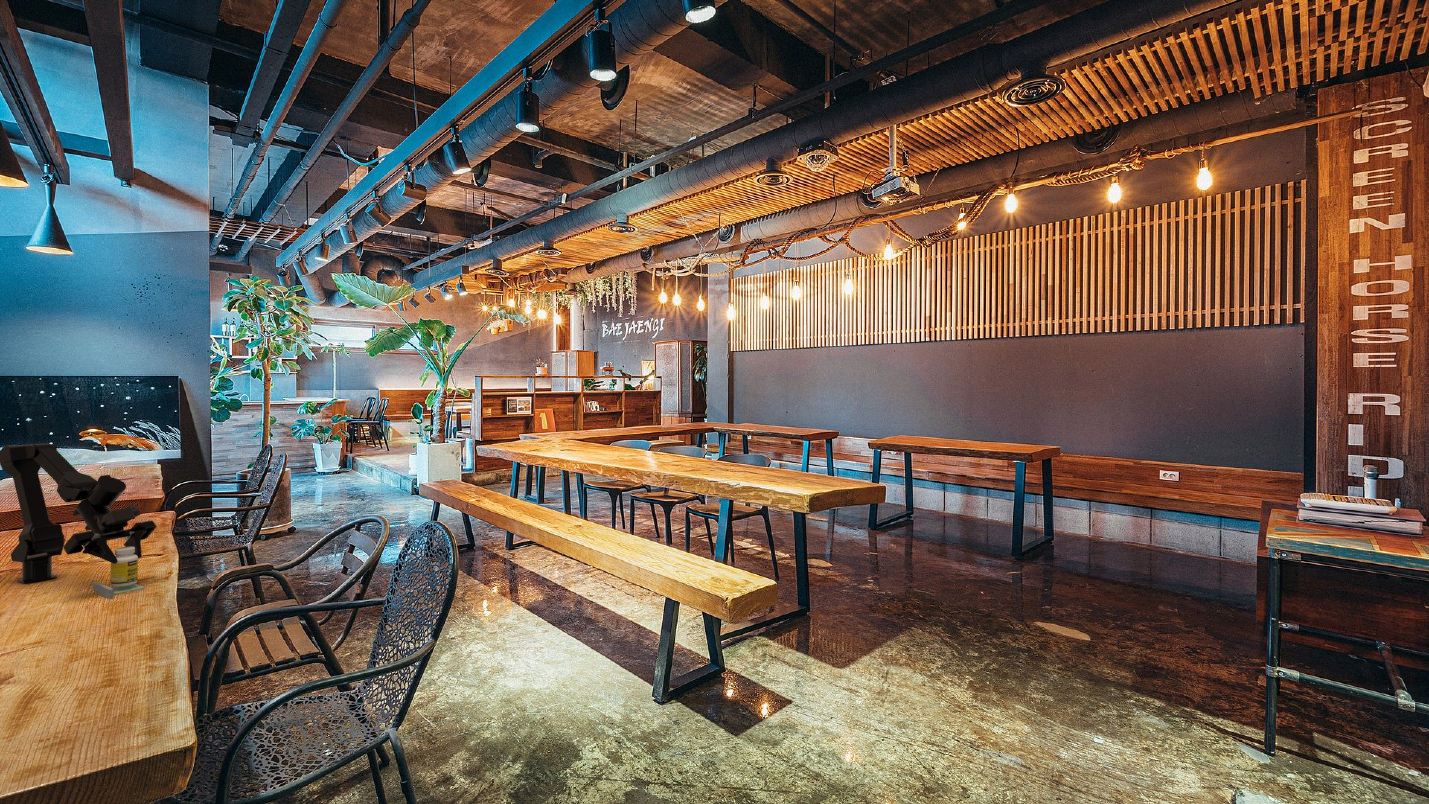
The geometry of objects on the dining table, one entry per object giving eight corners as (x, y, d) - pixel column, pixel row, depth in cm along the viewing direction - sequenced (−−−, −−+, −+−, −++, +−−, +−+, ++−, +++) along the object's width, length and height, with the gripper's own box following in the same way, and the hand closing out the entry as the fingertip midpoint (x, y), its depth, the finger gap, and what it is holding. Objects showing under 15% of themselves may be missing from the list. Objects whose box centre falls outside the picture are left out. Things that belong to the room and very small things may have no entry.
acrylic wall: (92, 591, 167) (92, 582, 167) (96, 590, 167) (96, 581, 167) (109, 599, 161) (109, 589, 161) (113, 598, 161) (113, 589, 161)
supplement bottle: (129, 586, 167) (130, 550, 167) (105, 587, 165) (105, 551, 165) (142, 580, 172) (142, 545, 172) (118, 581, 171) (119, 546, 170)
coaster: (105, 590, 168) (105, 588, 168) (134, 584, 173) (134, 583, 173) (115, 594, 164) (115, 593, 164) (144, 588, 169) (144, 587, 169)
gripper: (71, 503, 160) (103, 549, 158) (152, 492, 178) (181, 533, 176) (49, 531, 162) (80, 576, 160) (131, 517, 180) (159, 558, 178)
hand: (128, 559), depth 168 cm, fingers closed on supplement bottle, 5 cm apart
